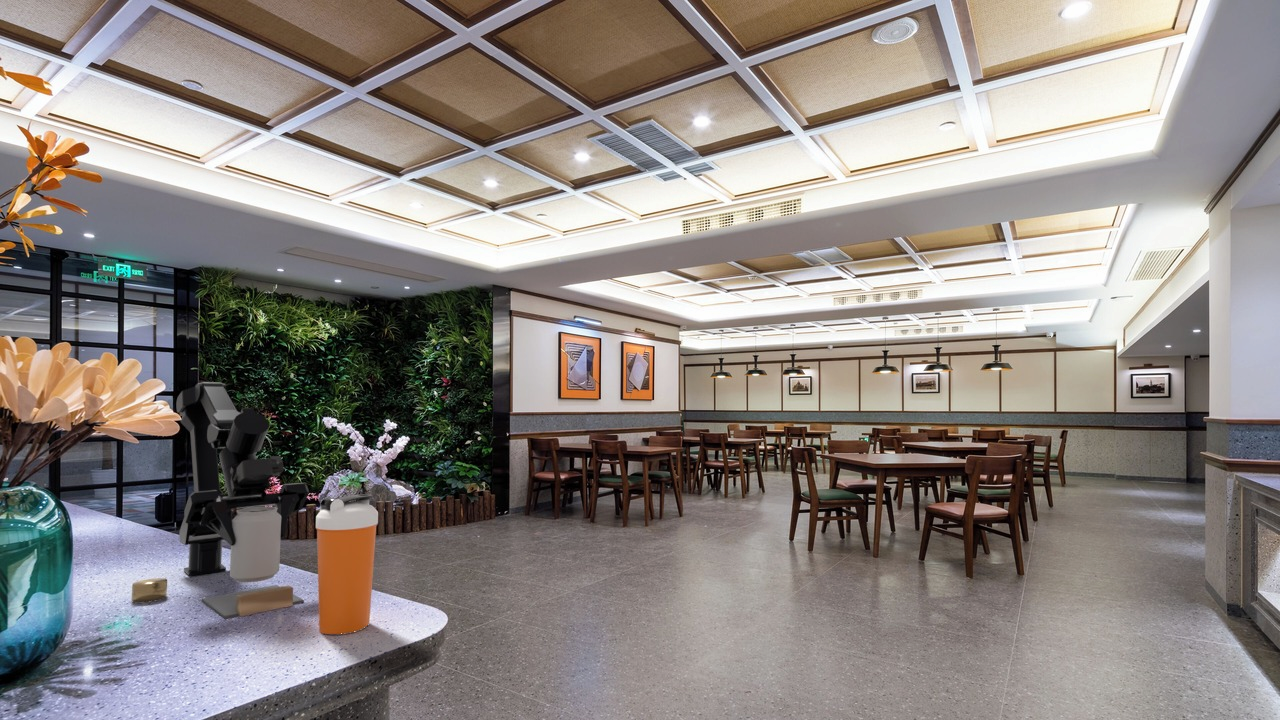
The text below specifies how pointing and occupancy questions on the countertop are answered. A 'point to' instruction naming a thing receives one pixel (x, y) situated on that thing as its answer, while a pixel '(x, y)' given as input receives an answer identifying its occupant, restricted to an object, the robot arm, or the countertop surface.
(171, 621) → the countertop surface
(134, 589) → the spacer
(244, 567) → the can
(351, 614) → the shaker bottle
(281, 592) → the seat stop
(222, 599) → the seat pad
